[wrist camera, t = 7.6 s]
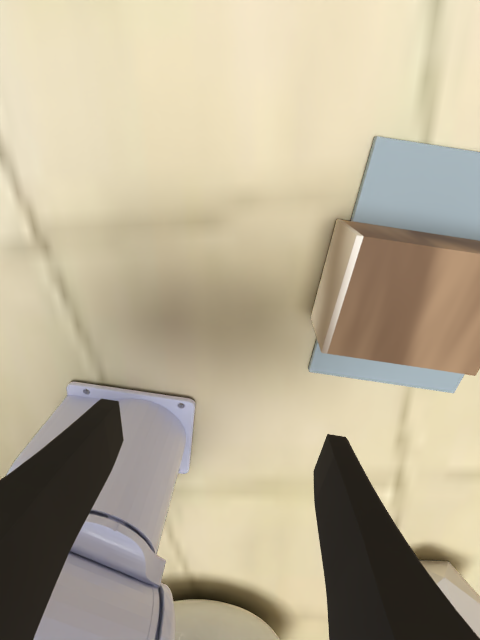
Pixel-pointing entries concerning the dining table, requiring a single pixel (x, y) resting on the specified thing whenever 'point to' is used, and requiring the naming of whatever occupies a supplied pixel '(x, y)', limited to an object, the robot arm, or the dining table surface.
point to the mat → (418, 215)
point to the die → (456, 591)
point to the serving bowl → (218, 622)
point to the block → (400, 298)
